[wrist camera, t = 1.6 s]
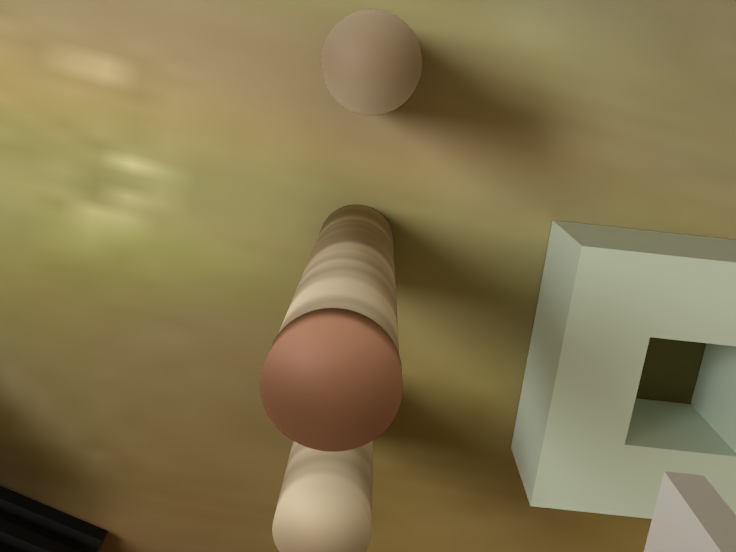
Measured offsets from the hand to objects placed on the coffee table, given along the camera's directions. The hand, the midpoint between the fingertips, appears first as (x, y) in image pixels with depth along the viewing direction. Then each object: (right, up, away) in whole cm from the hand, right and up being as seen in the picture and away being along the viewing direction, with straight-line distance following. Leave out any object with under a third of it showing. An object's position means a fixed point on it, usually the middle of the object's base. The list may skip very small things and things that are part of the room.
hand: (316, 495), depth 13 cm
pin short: (+1, +13, +17) cm, 22 cm away
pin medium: (0, -2, +22) cm, 22 cm away
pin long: (0, +6, +20) cm, 20 cm away
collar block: (+15, 0, +21) cm, 26 cm away
